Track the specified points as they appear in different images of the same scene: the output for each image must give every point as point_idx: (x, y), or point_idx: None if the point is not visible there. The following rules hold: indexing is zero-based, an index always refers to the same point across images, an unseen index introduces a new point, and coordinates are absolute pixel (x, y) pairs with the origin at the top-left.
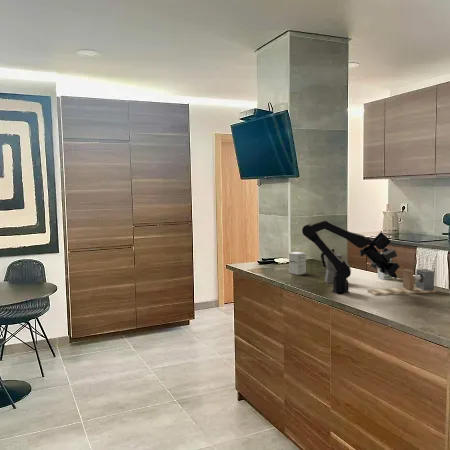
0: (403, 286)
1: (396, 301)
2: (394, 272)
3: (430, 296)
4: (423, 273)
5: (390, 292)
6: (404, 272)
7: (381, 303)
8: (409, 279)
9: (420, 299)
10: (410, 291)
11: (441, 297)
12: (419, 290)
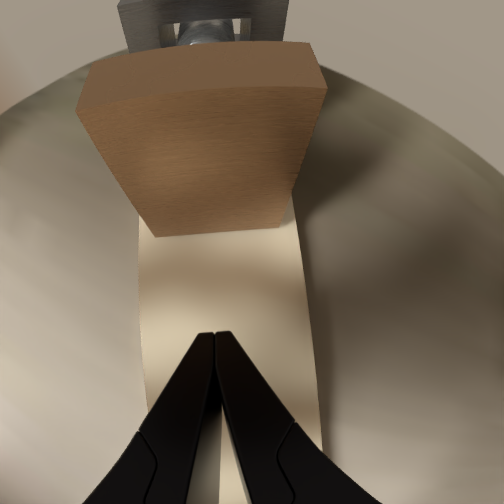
0: (157, 234)
1: (484, 417)
2: (292, 424)
3: (377, 148)
4: (271, 6)
5: (316, 431)
6: (129, 137)
7: (490, 494)
8: (290, 172)
9: (455, 247)
10: (295, 231)
11: (392, 112)
12: None
